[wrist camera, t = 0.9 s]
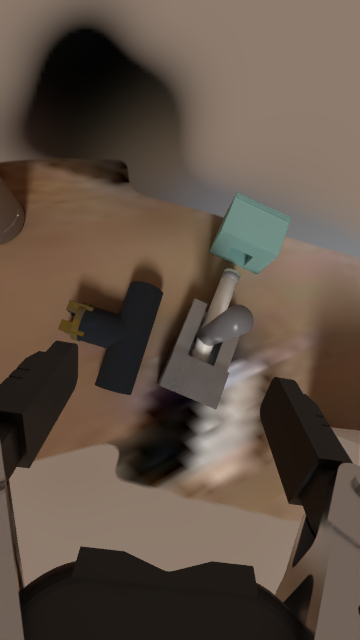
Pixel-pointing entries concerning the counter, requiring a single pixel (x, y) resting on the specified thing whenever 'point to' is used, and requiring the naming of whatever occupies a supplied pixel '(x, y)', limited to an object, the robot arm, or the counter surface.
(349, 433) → the milk
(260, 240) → the teal block
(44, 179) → the counter surface
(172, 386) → the grey grooved block
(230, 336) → the grey piece
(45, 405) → the robot arm
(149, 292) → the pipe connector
